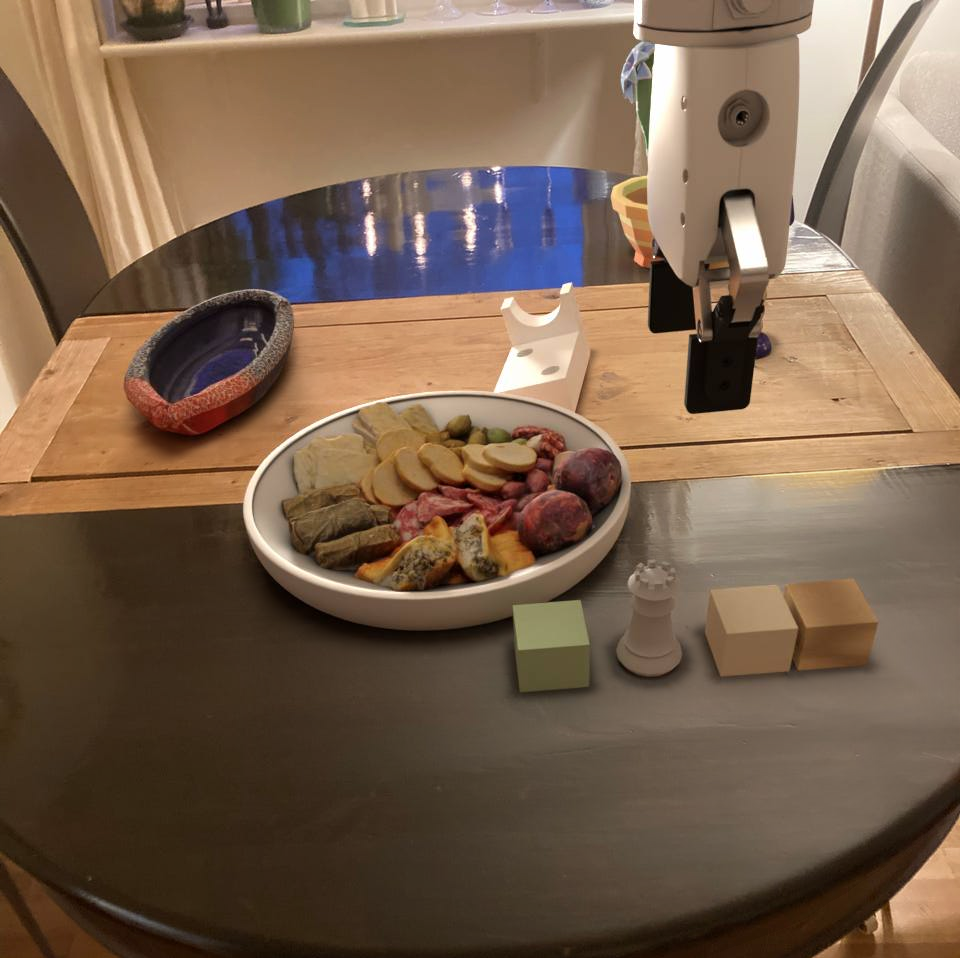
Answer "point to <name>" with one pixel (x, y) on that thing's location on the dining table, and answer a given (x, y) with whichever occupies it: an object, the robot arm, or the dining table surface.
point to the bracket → (546, 352)
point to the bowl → (438, 508)
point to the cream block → (750, 630)
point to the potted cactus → (633, 192)
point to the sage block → (551, 646)
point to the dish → (211, 361)
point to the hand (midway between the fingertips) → (694, 366)
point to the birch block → (830, 624)
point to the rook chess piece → (651, 622)
